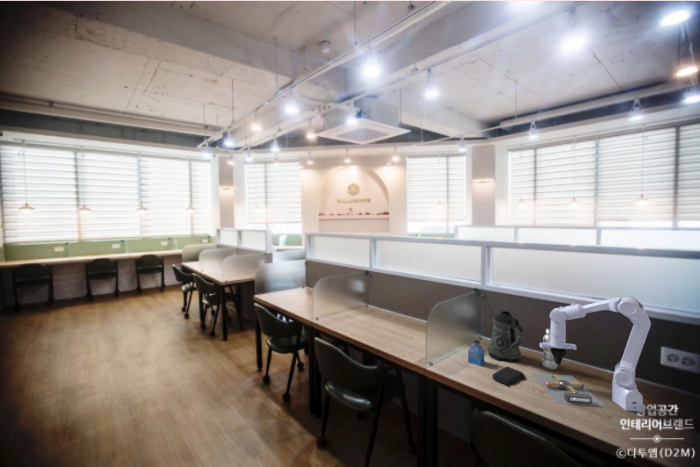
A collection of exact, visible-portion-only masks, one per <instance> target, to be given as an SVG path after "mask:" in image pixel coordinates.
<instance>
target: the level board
mask: <svg viewBox="0 0 700 467" xmlns="http://www.w3.org/2000/svg"><path fill="white" fill-rule="evenodd" d="M553 374H554V373H553ZM553 374H551V373H550V374H549V373H539V372H538V373H534V372H531V375H532V377H534V378H535V380H537V382H538V383H539V384H540V386H542V388H543V389H544V390H545V391H546V393H548V395H549V396H550V397H551V398H552V399H553V400H554V402H555V403H557V404H571V405H580V406H581V405H582V406H594V407H605V408H606V405H604V403H602V401H600V400H599V399H598V398H597V397H596V396H595V395H594V394H593V393H592V392H590V391H589V390H588V389H587V388H586V387H585V386H584V388H582V389H578V388H573V389H575V390H576V391H577V393H580V394H589V395H590V396H591V397H592V404H582V403H569V402H567V401H566V400H565V399H564V392H566V393H569V392H568V391H567V390H562V389H559V388H549V387H547V386H546V385H545V383H546V382H547V381H549V382H556V381H555V380H554V379H553V377H552V375H553ZM557 375H558V376H559V377H560V378H561V379H563V380H565V381H568V382H579V381H578V380H577V379H576V378H575V377H574V376H573V375H566V374H557Z"/></svg>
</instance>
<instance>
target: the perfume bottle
mask: <svg viewBox="0 0 700 467" xmlns="http://www.w3.org/2000/svg"><path fill="white" fill-rule="evenodd" d="M480 341H481V340H480V339H478V338H473V340H472V345H471V346H470V347H469V349H468V350H467V353H468V354H467V356H468V357H467V363H469V364H472V365H476V366H479V367H481V365H483V364H484V363H485V349H484V348H483V346H482V345H481V342H480Z"/></svg>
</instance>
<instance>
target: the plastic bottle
mask: <svg viewBox="0 0 700 467" xmlns="http://www.w3.org/2000/svg"><path fill="white" fill-rule="evenodd" d="M550 335H551V328H545V334H544V335H543V337H542V343H545V342H550ZM542 353H543V355H542V359H541V364H542V366H543V368H546V369H547V370H548V369H549V370H556V369H557V368H558V366H559V365H557V364H556V363H555V361H554V357H553V354H552V352H551V350H550V348H544V349H543V352H542Z"/></svg>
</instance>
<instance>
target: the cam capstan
mask: <svg viewBox="0 0 700 467" xmlns="http://www.w3.org/2000/svg"><path fill="white" fill-rule="evenodd" d="M558 375H559V374H556V373H553V375H552V377H553V379H554V380H555V381H556V382H549V381H547V382H546V383H545V385H546V386H547V387H549V388H559V389H562V390H567V391H568V392H569V393H577V391H576V390H575V389H573V388H578V389H582V388H584V387H585V384H584V383H583V382H581V381H578V382H568V381H565V380H563V379H561V378H560V377H559V376H558Z"/></svg>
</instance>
